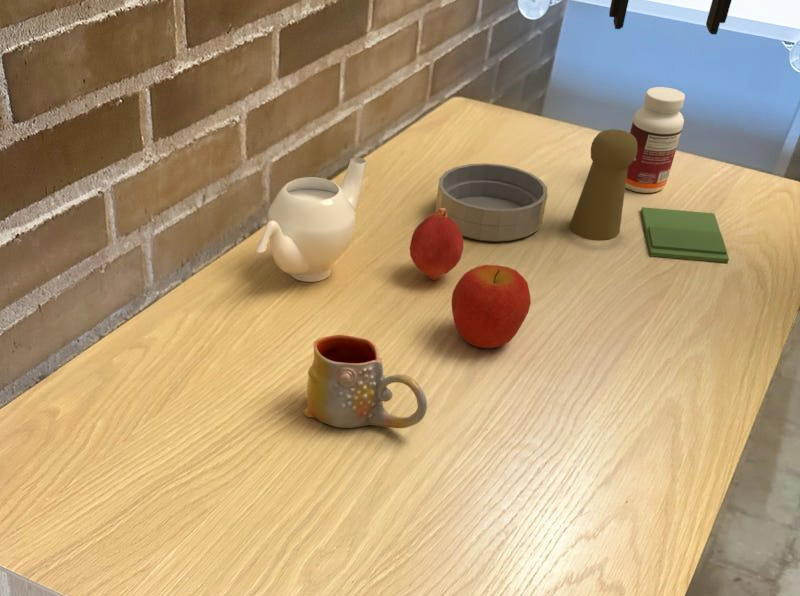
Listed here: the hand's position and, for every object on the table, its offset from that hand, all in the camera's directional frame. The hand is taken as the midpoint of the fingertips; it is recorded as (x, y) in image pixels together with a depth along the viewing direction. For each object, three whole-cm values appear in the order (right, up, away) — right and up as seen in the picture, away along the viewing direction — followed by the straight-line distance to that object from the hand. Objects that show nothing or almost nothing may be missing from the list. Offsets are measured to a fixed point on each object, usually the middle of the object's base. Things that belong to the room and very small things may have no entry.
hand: (664, 27), depth 102 cm
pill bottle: (+6, -4, +26) cm, 27 cm away
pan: (-15, -12, +18) cm, 27 cm away
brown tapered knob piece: (-2, -14, +17) cm, 22 cm away
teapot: (-37, -23, +8) cm, 44 cm away
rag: (+8, -15, +16) cm, 24 cm away
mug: (-32, -44, -11) cm, 55 cm away
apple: (-19, -33, -1) cm, 38 cm away
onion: (-23, -24, +8) cm, 34 cm away
